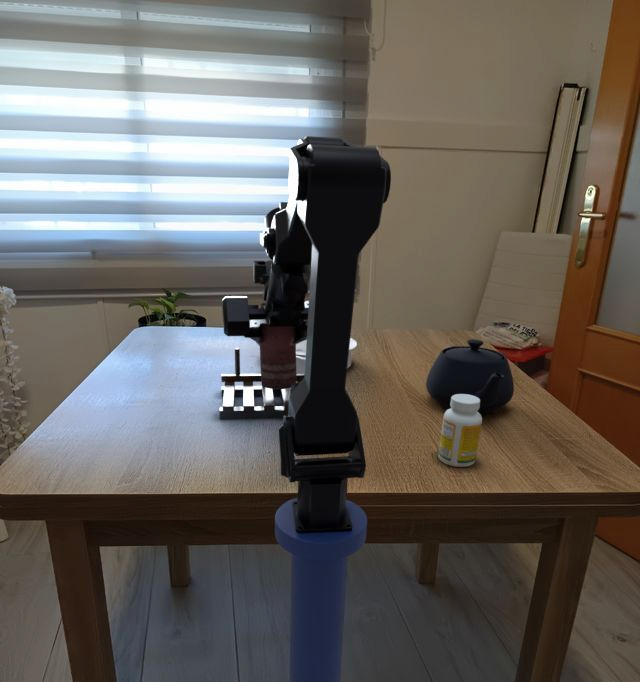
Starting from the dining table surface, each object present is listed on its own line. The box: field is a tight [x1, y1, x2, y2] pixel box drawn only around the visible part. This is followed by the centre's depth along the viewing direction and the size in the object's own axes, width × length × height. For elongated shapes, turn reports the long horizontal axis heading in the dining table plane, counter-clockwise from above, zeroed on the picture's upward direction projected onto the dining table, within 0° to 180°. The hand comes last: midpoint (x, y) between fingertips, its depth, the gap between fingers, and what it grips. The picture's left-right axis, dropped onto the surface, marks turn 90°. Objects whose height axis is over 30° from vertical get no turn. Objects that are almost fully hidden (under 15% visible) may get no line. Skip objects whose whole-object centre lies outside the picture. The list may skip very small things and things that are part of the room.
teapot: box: [425, 338, 515, 415], centre depth 103 cm, size 25×16×12 cm, turn 5°
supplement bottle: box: [438, 394, 483, 468], centre depth 82 cm, size 5×5×10 cm
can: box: [259, 301, 297, 389], centre depth 97 cm, size 6×6×14 cm
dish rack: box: [218, 347, 305, 420], centre depth 101 cm, size 14×20×9 cm
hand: (276, 342), depth 99 cm, fingers closed on can, 5 cm apart
